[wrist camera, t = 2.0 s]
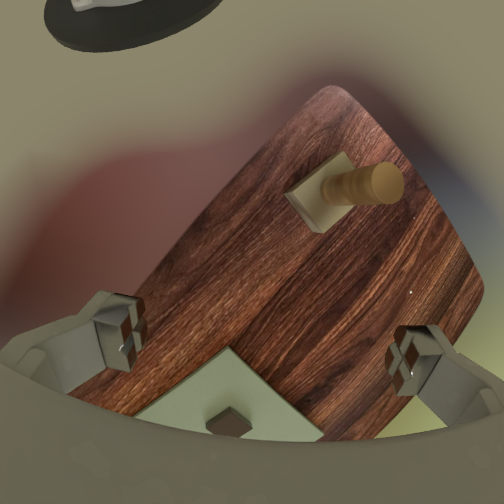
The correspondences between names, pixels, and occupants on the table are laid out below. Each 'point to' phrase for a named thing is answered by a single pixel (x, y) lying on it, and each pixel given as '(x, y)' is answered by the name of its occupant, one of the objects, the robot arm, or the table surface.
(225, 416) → the brown flat square block
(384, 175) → the stamp
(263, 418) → the mat
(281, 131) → the table surface
